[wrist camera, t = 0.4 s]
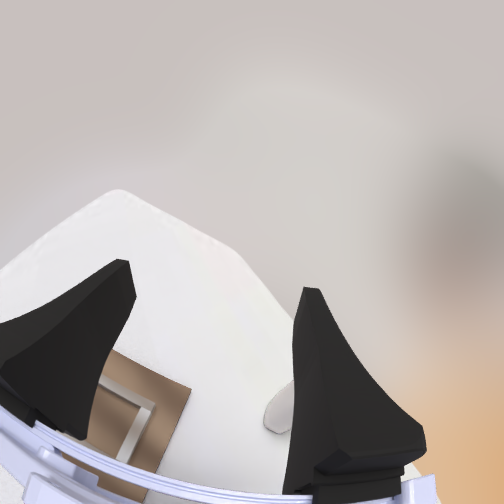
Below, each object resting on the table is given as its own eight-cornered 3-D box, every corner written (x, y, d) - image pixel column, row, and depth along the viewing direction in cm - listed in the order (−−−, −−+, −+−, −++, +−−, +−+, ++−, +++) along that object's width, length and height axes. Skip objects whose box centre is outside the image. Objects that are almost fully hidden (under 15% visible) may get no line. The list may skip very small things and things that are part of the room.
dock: (137, 512, 14) (135, 515, 13) (23, 439, 14) (12, 434, 13) (190, 392, 26) (193, 384, 24) (87, 337, 26) (83, 325, 24)
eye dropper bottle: (310, 414, 27) (375, 372, 20) (271, 438, 24) (332, 407, 17) (289, 386, 30) (344, 334, 22) (250, 407, 27) (298, 361, 19)
